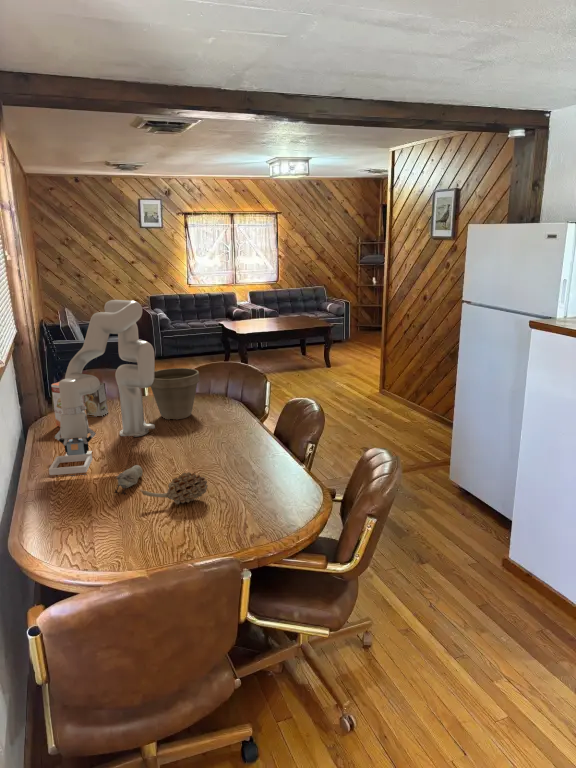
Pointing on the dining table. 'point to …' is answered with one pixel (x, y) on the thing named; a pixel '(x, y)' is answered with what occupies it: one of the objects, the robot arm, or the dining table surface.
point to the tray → (69, 470)
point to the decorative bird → (129, 477)
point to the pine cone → (183, 488)
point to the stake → (76, 440)
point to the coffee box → (96, 402)
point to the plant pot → (175, 391)
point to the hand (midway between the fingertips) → (77, 452)
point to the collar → (75, 447)
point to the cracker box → (58, 402)
